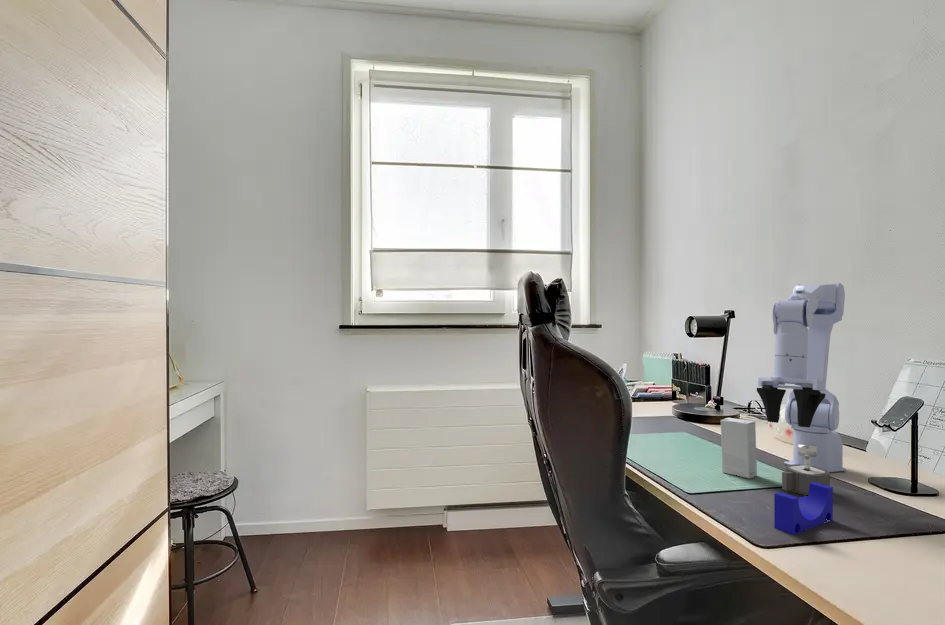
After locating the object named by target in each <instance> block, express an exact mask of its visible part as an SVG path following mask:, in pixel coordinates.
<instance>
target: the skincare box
mask: <svg viewBox="0 0 945 625" xmlns="http://www.w3.org/2000/svg"><path fill="white" fill-rule="evenodd" d="M756 433H757V431H756V421H753V420H748V419H747V420H746V419H739V418H734V417H733V418H732V417H726V418H722V419H720V435H721V436H720V437H721V438H720V440H721V444H720V445H721V470H722V471H721V472H722V473H725V474H728V475H732V476H736V475H737V477H741V478H744V479H745V478H746V479H752V478H754V476H755V477H756V476H757V475H758V470H757V468H758V467H757V465H758V464H757V462H758V461H757V437H756V435H757V434H756Z"/></svg>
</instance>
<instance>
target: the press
mask: <svg viewBox="0 0 945 625" xmlns="http://www.w3.org/2000/svg"><path fill="white" fill-rule="evenodd" d="M830 475H831V474H830V472H829V471H828V470H825V469H822V468H819V467H816V466H810V471H805V470H804V465H802V464H792V465H787V464H785V471H782V472H781V489H782V490H785V491H789V492H792V493H794V492H795V493H794V494H797V493H798V495H801V494H802V496H806V495H808V493H809V486H810V483H813V482H816V483H820V484H823V485H827V486H830V484H831V483H830V480H831V478H830V477H831V476H830ZM830 487H831V486H830Z"/></svg>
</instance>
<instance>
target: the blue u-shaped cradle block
mask: <svg viewBox="0 0 945 625" xmlns="http://www.w3.org/2000/svg"><path fill="white" fill-rule="evenodd" d="M833 491H834V487H833V486H827V485H823V484H820V483H816V482H813V483H810V486H809V493H808V496H806V495H803V496H802V497H798V496H794V495H791V494H787V493H784V492H781V491H779V492H775V493H774V494H773V496H774V504H773V505H774V510H773V511H774V514H773V515H774V518H773V520H774V526H773V527H774V529H776V530H779V531H782V532H784V533H787V534H789V535H792V536H794V535H797V534H799V533H802V532H805V531H807V530H806V529H808V530H810V529H809V528H811V527H814V526H816V527H818V526H817V525H819V524H822V523H824V522H827V520H832V519H833V520H834V492H833ZM826 519H827V520H826ZM827 523H828V522H827ZM822 525H823V524H822ZM819 526H820V525H819ZM814 528H815V527H814ZM811 529H812V528H811ZM804 530H805V531H804ZM801 531H802V532H801Z"/></svg>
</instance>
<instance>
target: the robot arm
mask: <svg viewBox="0 0 945 625" xmlns="http://www.w3.org/2000/svg"><path fill="white" fill-rule="evenodd" d="M845 293H846V292H845V287H844V285H843V284H842V283H841V282H837V283H812V284H800V283H798V284H796V285H795V286H793V290H792V294H791V295H789V297H788V298H786V299H785V300H778V301H777V302H775V303H774V304H773V306H772V323H773V324H772V325H773V334H774V335H775V342H774V359H773V360H774V366H773V376H769V377H768V376H767V377H761V376H760V377H758V380H757V381H758V382H757V383H758V384H757V386H758V387H756V392H757V394H758V395H759V397H760V399H761V401H762V404H763V408H764V411H765V416H766V420H767V421H766V422H769V423H776V424H779V421H780V413H781V406H782V402H783V398H784V397H785V394H786V391H787V390H786V389H792V390H791V391H790V392H789V393H788V396H787V400H786V404H785V408H784V418H785V421H786V423H787V424H788V425H789V426H790V427H791V429H793V432H792V433H793V439H792V440H793V441H792V442H793V447H792V448H793V450H792V452H793V460H787V461H783V464H785V465H792V464H802V465H804V456H801V455H798V443H807V444H813V445H816V446H817V457H810V466H816V467H819V468H822V469H825V470H828V471H829V473H835V472H846V471H847V468H846V467H843V465H844V464H843V461H844V460H843V457H844V456H843V452H844V451H843V440H842V437H841V435H839V433H838V432H837V431H836V430H837V429H838V428H839V424H840V402H839V400H838V398H837V396H836V395H835V394H833V393H832V392H831V391H829V390H828V389H826V388H827V376H828V365H829V355H830V342H831V334H832V330H833V328H834V324H837V323H838V322H841V321H842V320H843V317H844V310H845V299H846V297H845V296H846V295H845ZM786 384H787V385H786Z"/></svg>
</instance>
